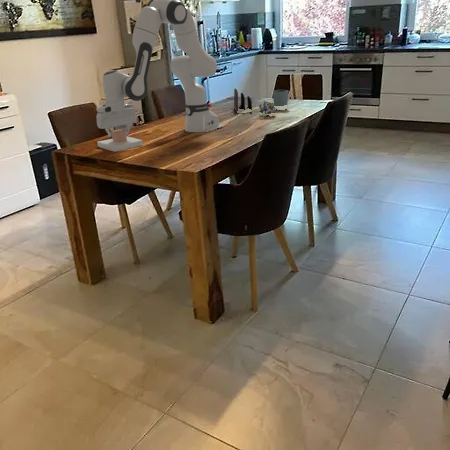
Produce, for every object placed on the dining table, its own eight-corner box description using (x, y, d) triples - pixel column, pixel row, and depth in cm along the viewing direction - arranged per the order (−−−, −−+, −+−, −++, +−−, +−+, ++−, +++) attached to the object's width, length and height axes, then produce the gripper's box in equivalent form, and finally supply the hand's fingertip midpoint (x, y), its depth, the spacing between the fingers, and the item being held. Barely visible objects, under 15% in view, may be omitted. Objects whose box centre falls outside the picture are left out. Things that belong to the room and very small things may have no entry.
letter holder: (237, 113, 303) (236, 91, 298) (234, 108, 322) (233, 87, 316) (252, 113, 304) (252, 90, 298) (248, 107, 322) (248, 86, 316)
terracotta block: (121, 139, 236) (120, 129, 234) (126, 140, 233) (125, 130, 231) (112, 141, 233) (111, 131, 231) (118, 142, 230) (116, 132, 228)
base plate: (125, 140, 244) (125, 135, 243) (143, 145, 233) (142, 140, 232) (97, 146, 234) (97, 141, 233) (114, 151, 223) (113, 146, 222)
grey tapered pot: (273, 110, 307) (273, 91, 302) (272, 108, 316) (272, 89, 312) (288, 110, 307) (289, 91, 302) (287, 107, 316) (287, 89, 311)
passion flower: (271, 125, 290) (269, 112, 280) (256, 121, 295) (253, 107, 284) (279, 113, 294) (277, 98, 284) (264, 108, 299) (261, 94, 289)
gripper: (130, 102, 235) (133, 130, 240) (93, 108, 222) (97, 137, 228) (137, 103, 230) (140, 131, 236) (99, 109, 218) (104, 139, 223)
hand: (119, 134), depth 232 cm, fingers open, 8 cm apart
